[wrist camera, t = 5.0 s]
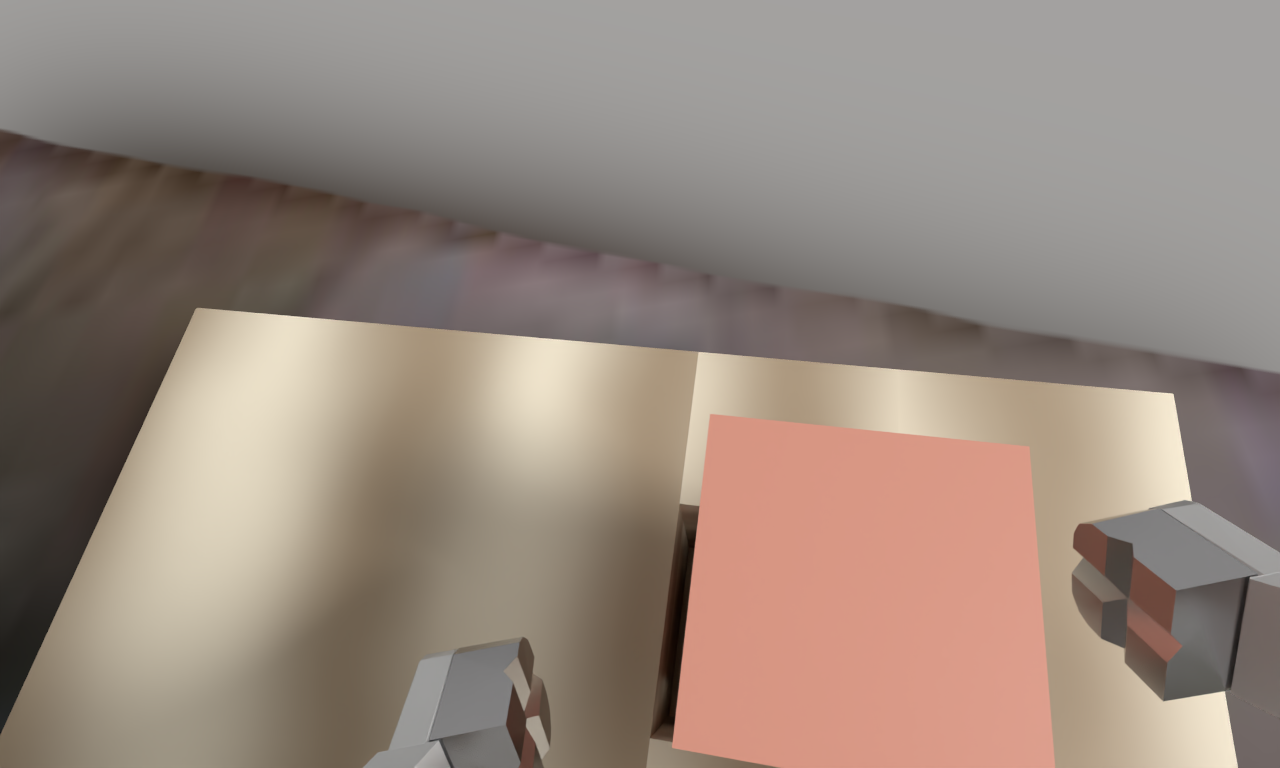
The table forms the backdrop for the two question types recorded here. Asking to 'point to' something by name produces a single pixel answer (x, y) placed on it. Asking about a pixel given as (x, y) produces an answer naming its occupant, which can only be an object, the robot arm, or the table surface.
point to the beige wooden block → (508, 542)
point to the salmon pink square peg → (864, 602)
